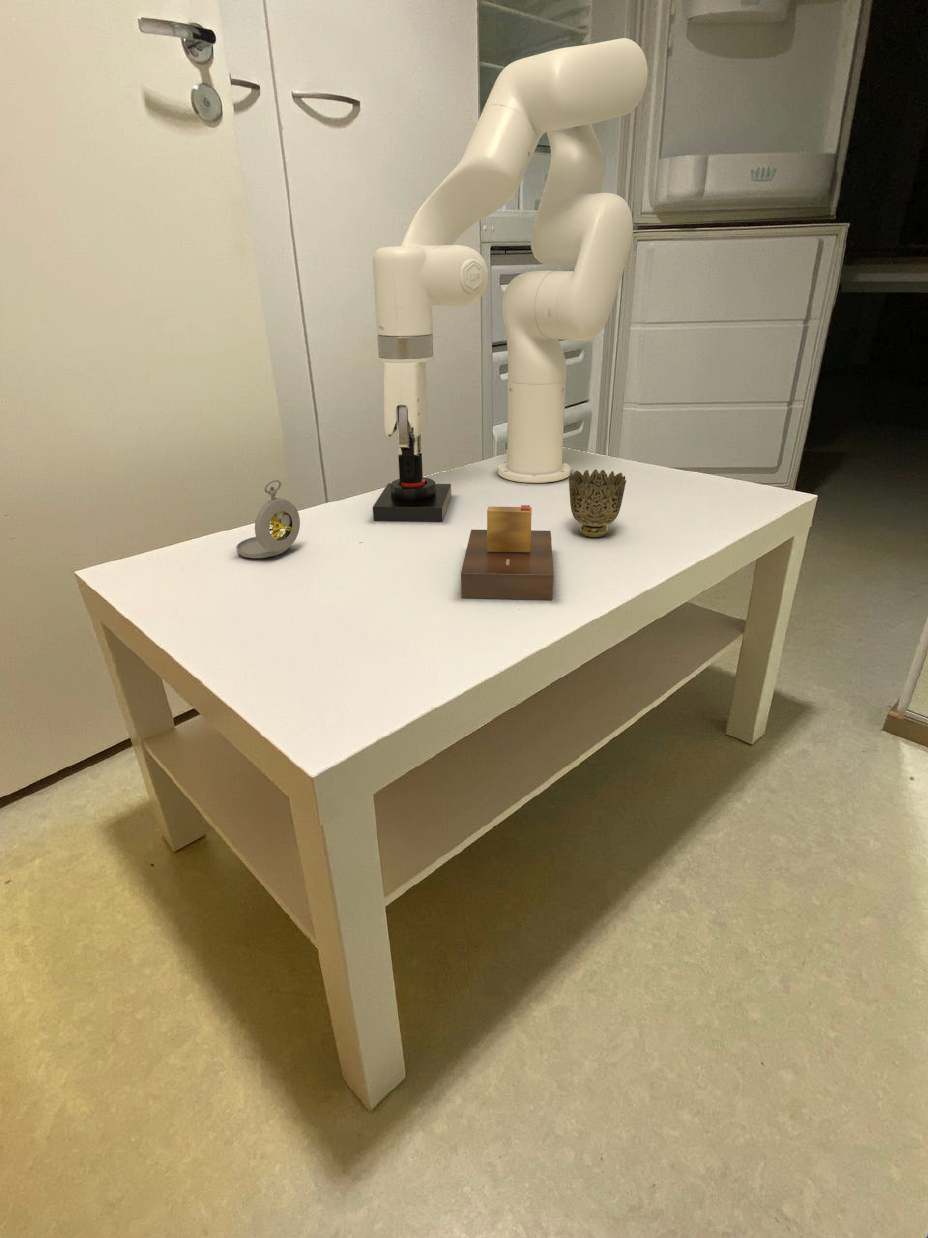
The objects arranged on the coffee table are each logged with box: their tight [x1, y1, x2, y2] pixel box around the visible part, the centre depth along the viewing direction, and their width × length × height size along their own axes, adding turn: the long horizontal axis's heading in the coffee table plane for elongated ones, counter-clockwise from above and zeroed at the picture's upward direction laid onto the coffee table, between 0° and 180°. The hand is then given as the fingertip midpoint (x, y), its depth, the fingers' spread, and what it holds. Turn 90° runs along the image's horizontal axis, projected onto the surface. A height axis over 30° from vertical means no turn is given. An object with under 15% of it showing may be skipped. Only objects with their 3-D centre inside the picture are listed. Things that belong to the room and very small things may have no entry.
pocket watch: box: [235, 479, 301, 559], centre depth 88 cm, size 8×8×10 cm
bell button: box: [401, 479, 425, 487], centre depth 104 cm, size 4×4×2 cm
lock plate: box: [460, 529, 554, 601], centre depth 83 cm, size 14×10×3 cm
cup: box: [568, 469, 627, 538], centre depth 93 cm, size 8×7×8 cm
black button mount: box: [372, 476, 452, 523], centre depth 105 cm, size 12×10×4 cm
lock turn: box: [486, 504, 533, 553], centre depth 81 cm, size 5×2×5 cm, turn 84°
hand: (411, 480), depth 104 cm, fingers closed
